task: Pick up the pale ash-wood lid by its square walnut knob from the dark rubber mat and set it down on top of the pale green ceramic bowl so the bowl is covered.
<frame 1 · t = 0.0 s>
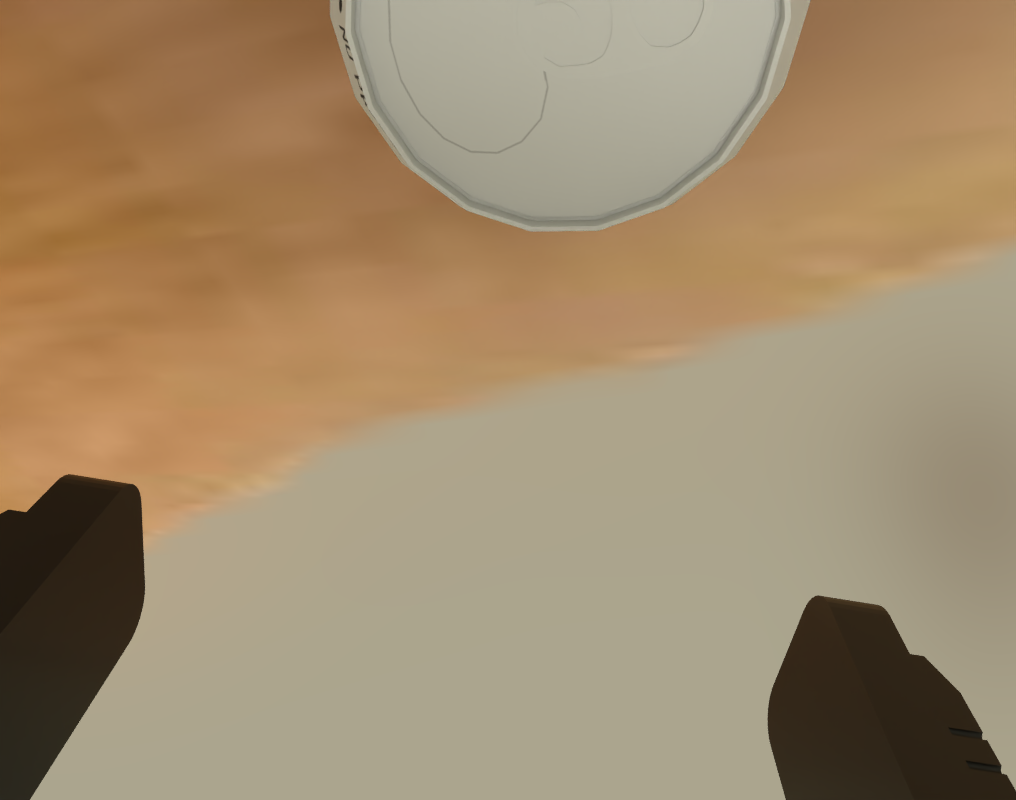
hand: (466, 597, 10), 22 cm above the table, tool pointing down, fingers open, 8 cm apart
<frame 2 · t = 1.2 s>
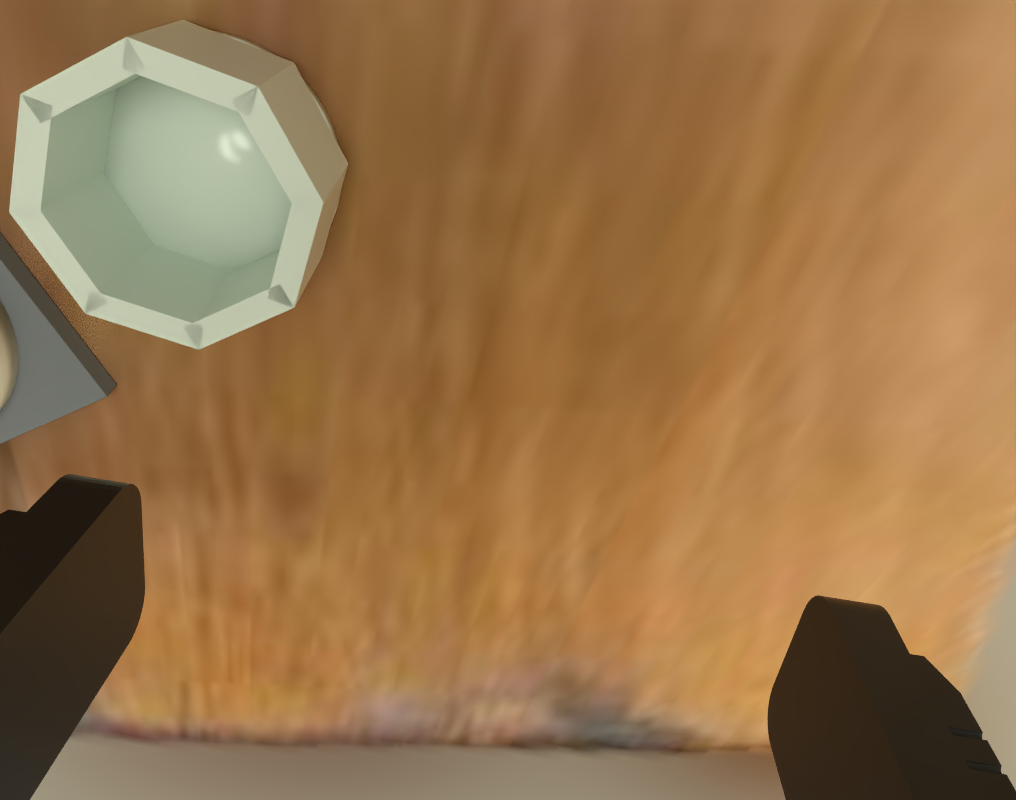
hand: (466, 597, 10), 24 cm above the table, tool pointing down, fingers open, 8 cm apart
bowl: (218, 163, 31), on the table
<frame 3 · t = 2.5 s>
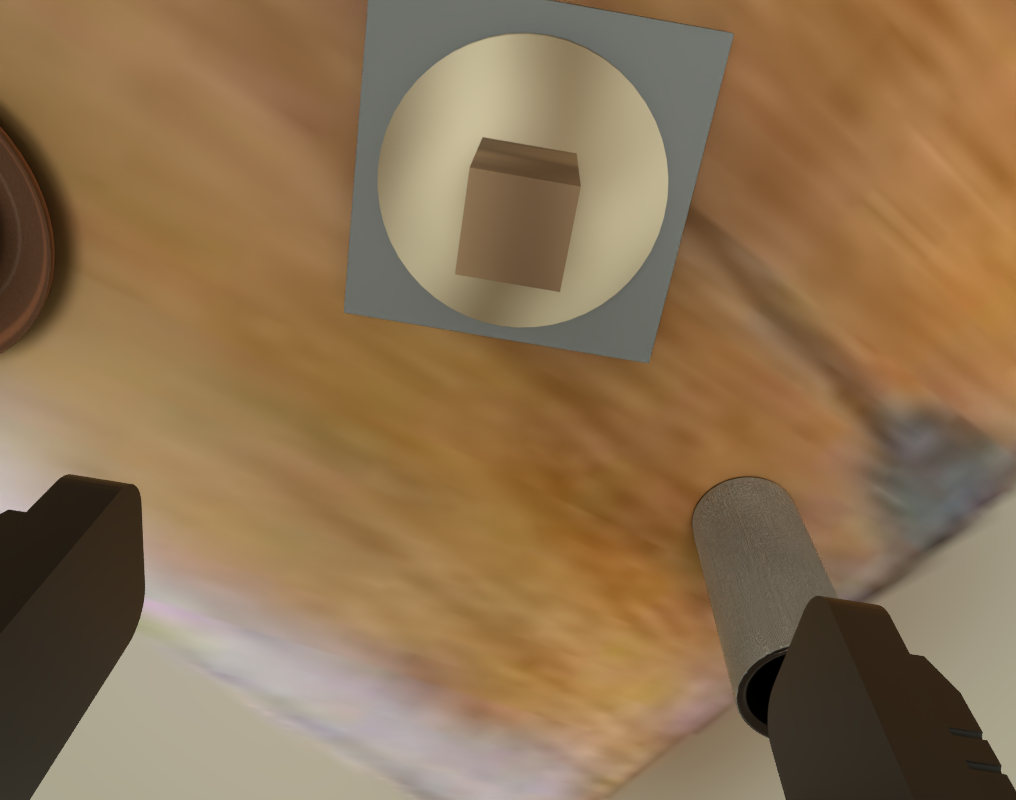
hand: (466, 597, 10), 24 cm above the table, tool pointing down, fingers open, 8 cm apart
lid: (522, 184, 30), point 1 cm above the table, touching mat
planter: (742, 516, 38), on the table
mat: (523, 178, 31), on the table
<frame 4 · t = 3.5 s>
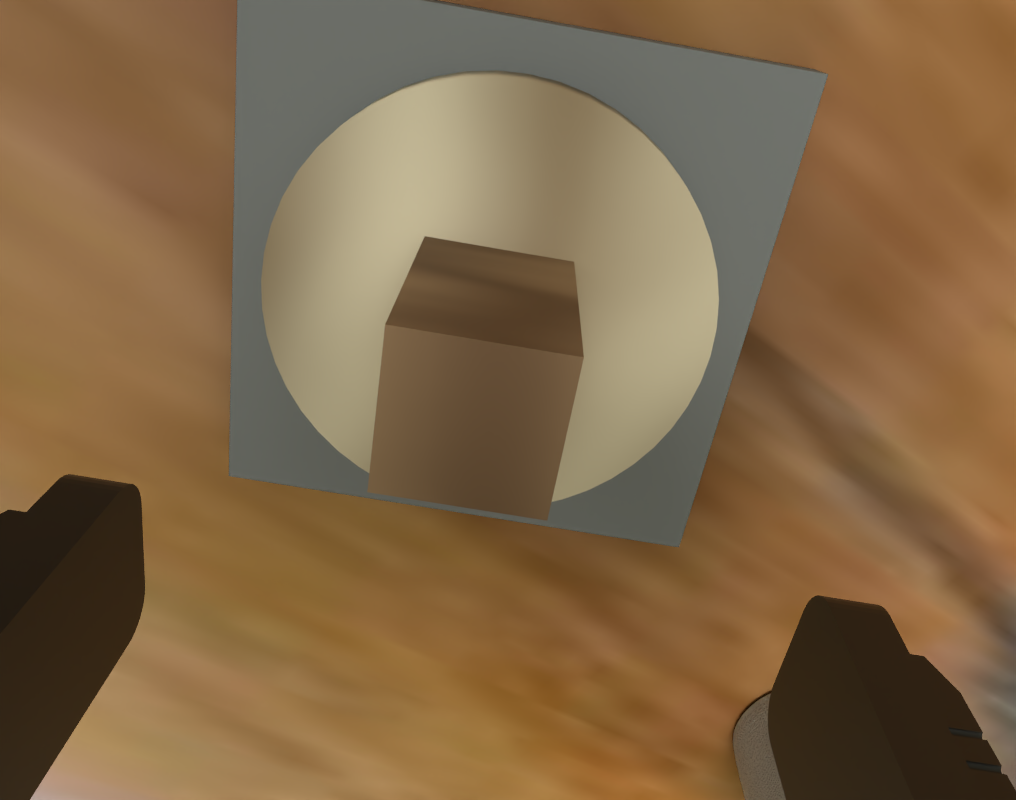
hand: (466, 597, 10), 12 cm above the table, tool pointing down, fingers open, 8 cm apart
lid: (491, 299, 20), point 1 cm above the table, touching mat
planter: (802, 729, 27), on the table
mat: (493, 285, 21), on the table
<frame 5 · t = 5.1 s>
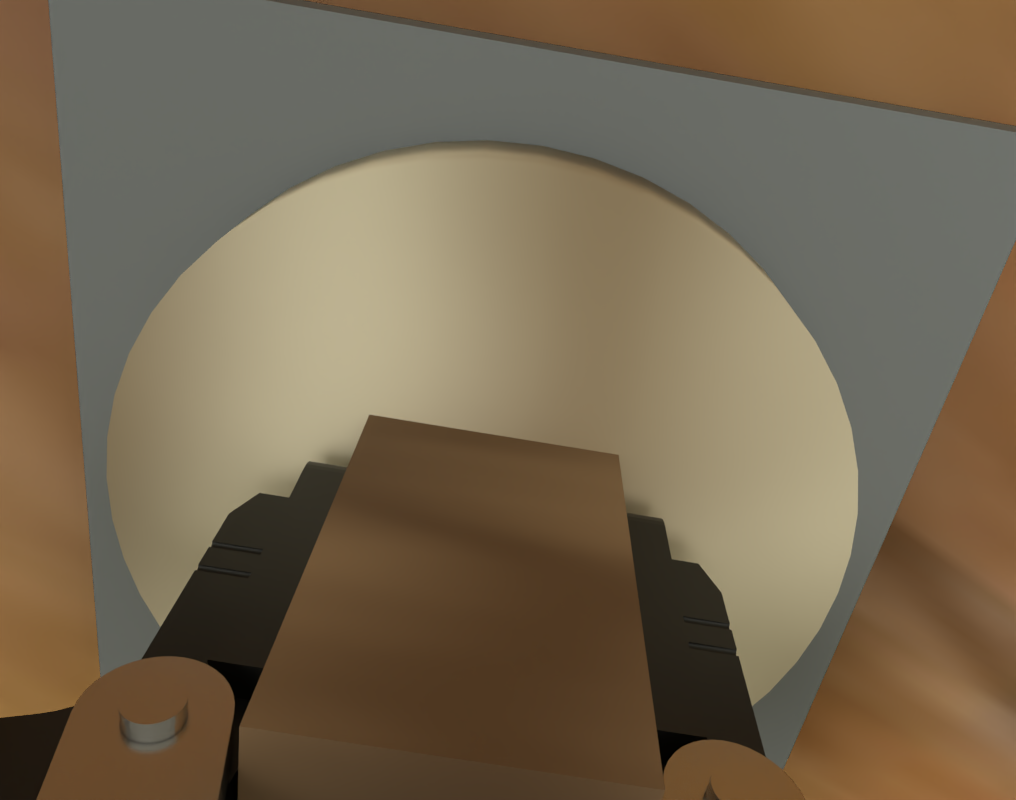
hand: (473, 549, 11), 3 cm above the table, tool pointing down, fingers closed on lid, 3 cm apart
lid: (483, 489, 13), point 1 cm above the table, touching gripper
mat: (490, 449, 14), on the table
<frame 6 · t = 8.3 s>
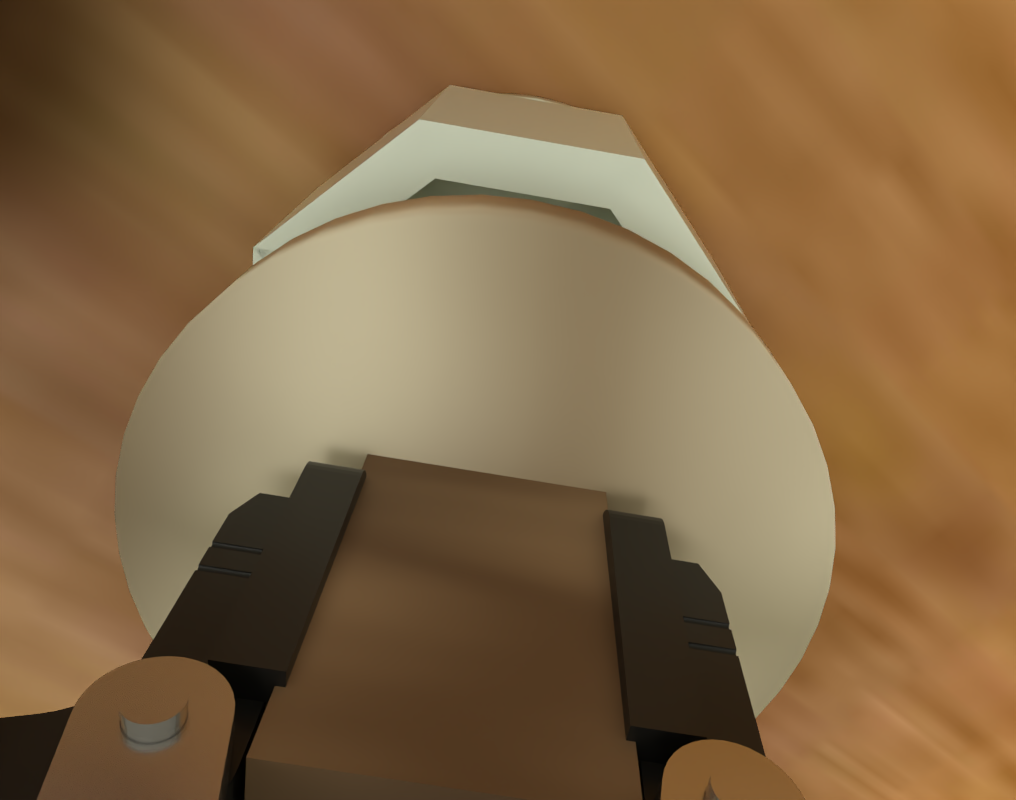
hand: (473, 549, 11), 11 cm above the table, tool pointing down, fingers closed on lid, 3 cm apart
bowl: (504, 287, 21), on the table
lid: (476, 523, 13), point 9 cm above the table, touching gripper
when the fingers open (9 cm above the table, at t = 9.0 s): lid drops 2 cm, resting on bowl.
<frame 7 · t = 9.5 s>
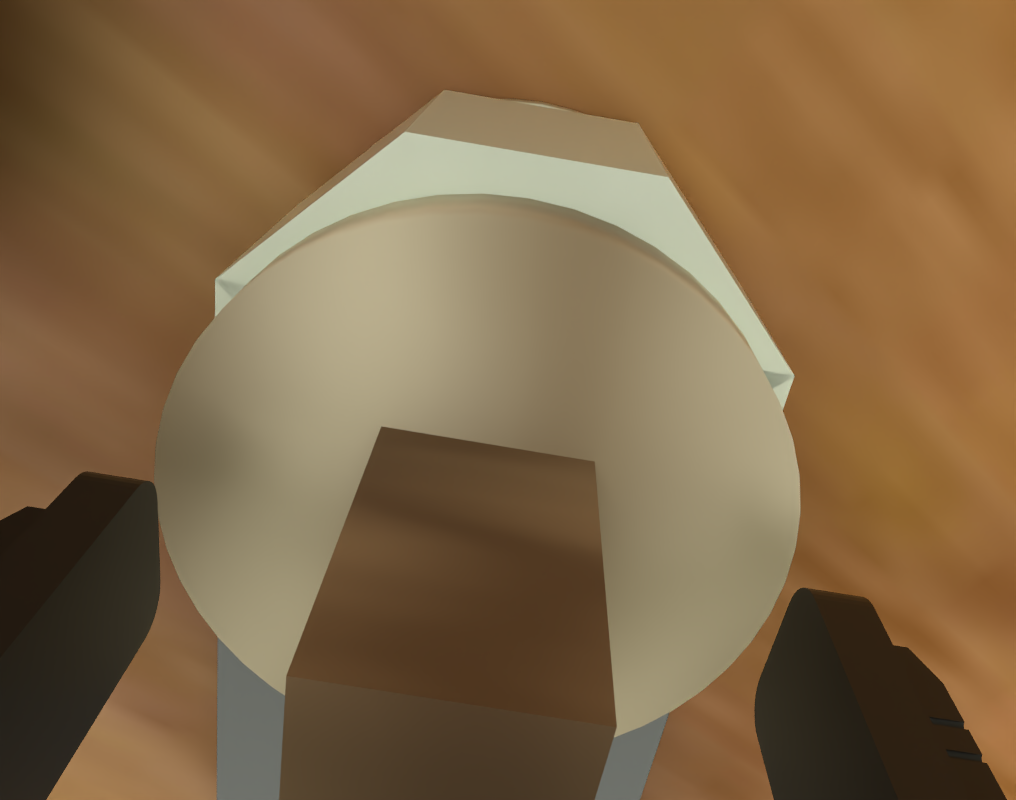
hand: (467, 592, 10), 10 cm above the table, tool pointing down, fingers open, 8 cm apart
bowl: (506, 312, 19), on the table
lid: (479, 490, 14), point 5 cm above the table, touching bowl
mat: (428, 776, 26), on the table
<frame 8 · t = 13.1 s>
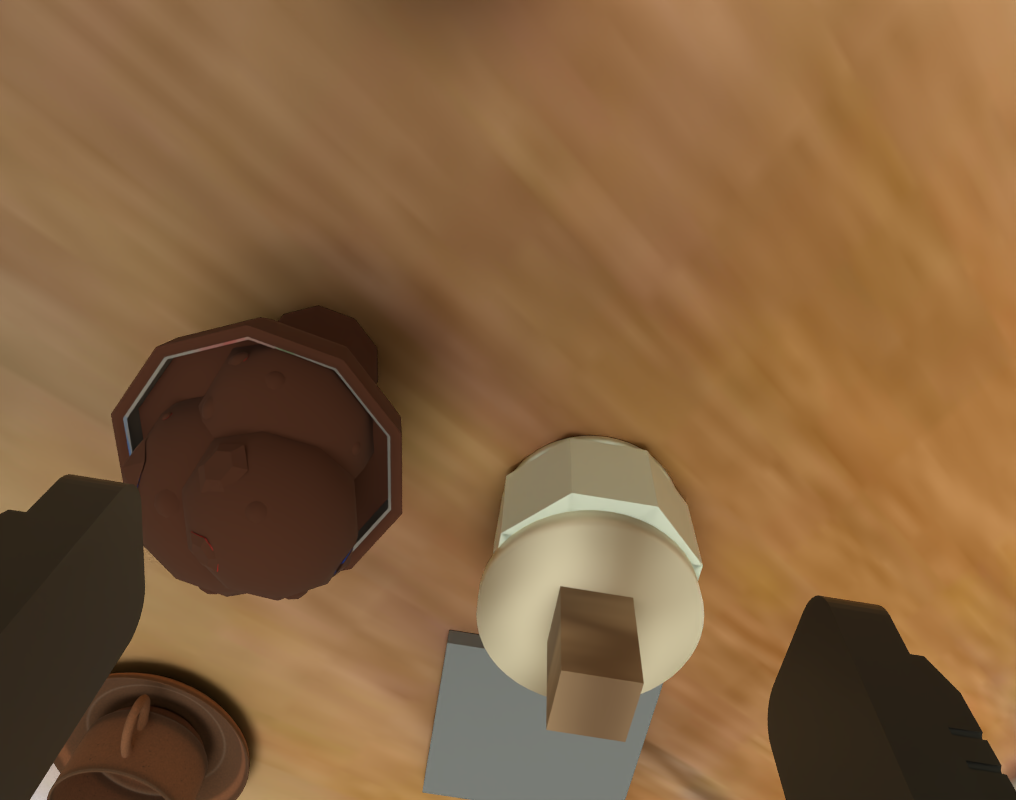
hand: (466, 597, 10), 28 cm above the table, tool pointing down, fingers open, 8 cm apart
ice cream bowl: (322, 359, 40), on the table
bowl: (589, 513, 43), on the table
lid: (588, 602, 39), point 5 cm above the table, touching bowl
cup and saucer: (161, 725, 52), on the table
mat: (537, 723, 50), on the table
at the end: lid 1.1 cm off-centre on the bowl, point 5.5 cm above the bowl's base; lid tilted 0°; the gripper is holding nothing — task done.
